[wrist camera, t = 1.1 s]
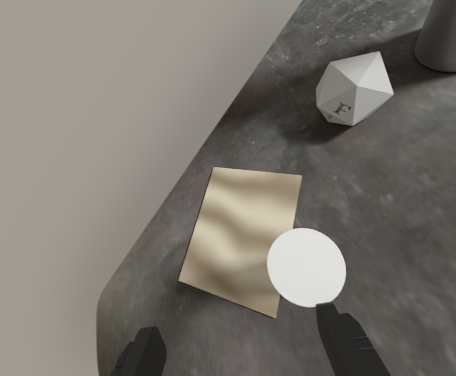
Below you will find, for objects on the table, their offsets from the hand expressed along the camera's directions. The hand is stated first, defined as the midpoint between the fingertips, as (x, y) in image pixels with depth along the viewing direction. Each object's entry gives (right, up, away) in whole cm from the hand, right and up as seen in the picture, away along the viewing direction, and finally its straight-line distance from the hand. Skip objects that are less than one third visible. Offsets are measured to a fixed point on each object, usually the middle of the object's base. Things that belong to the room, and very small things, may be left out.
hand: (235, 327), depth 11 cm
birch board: (+1, +1, +20) cm, 20 cm away
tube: (+10, -3, +15) cm, 18 cm away
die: (+17, +18, +21) cm, 32 cm away
